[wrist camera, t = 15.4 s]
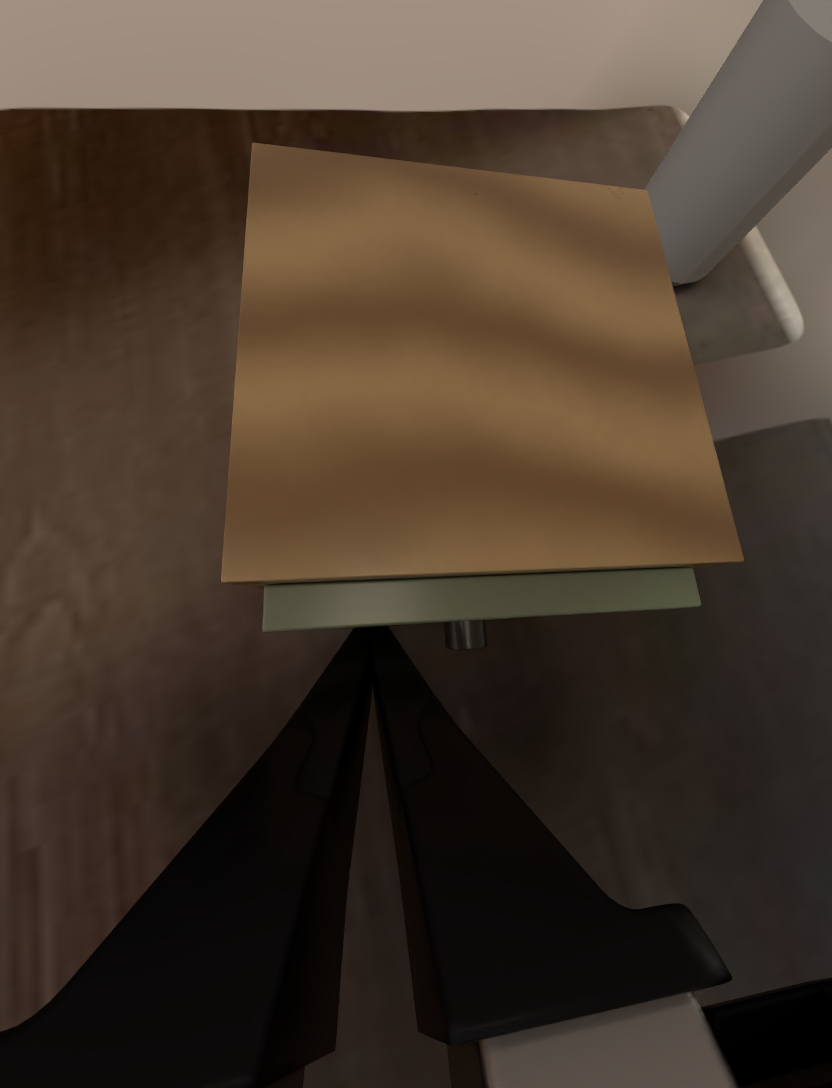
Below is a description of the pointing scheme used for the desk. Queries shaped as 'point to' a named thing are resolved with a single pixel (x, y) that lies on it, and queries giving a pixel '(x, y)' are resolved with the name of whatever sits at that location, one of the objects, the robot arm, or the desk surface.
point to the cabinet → (460, 380)
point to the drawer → (473, 600)
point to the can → (747, 137)
